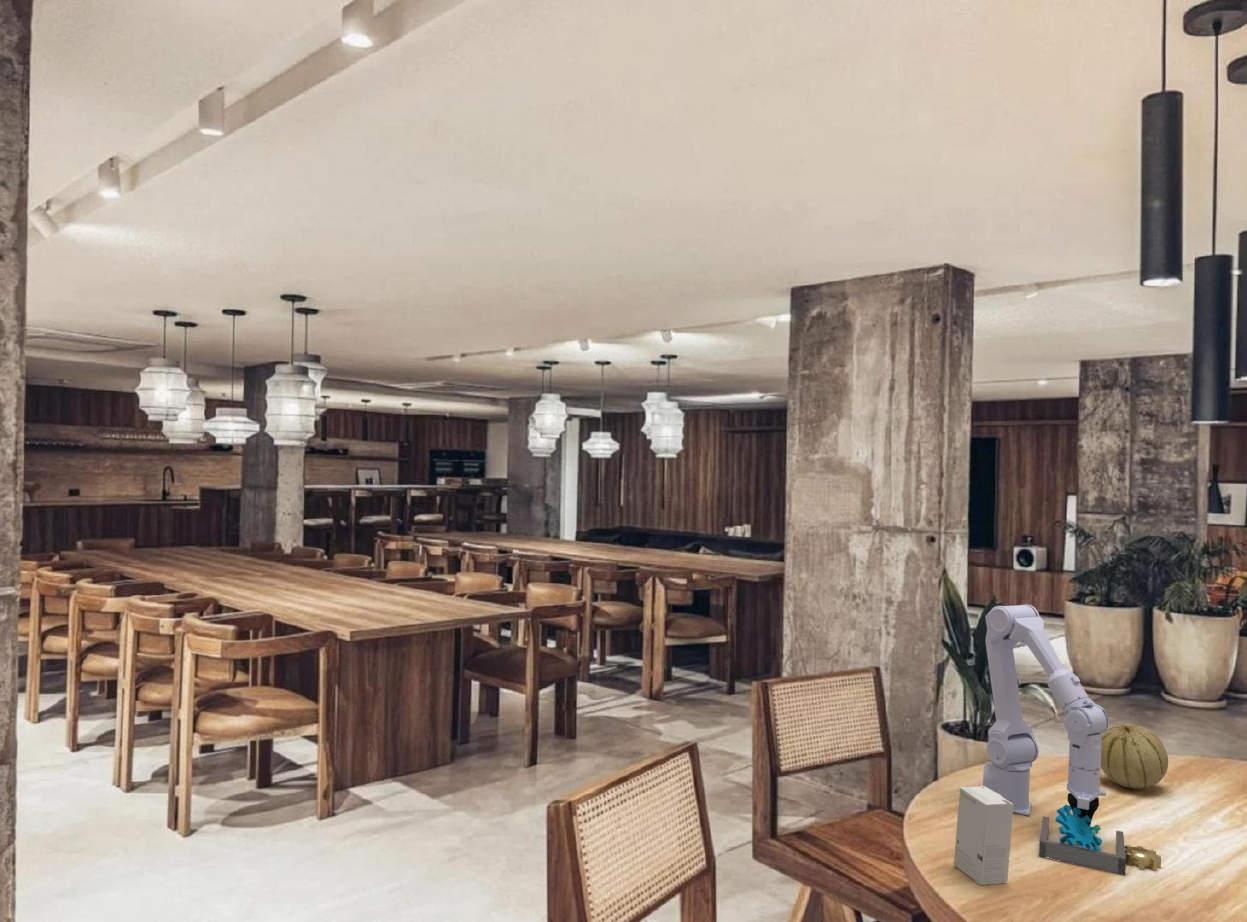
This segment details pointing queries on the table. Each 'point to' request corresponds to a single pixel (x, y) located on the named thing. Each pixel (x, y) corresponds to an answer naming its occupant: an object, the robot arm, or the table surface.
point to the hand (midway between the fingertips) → (1081, 833)
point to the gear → (1077, 829)
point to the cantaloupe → (1133, 756)
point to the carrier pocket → (1098, 854)
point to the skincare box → (983, 835)
